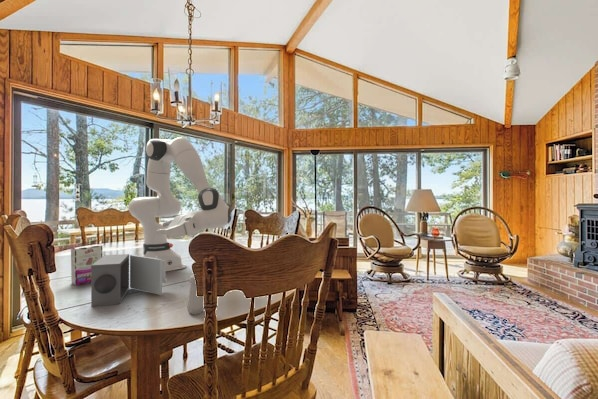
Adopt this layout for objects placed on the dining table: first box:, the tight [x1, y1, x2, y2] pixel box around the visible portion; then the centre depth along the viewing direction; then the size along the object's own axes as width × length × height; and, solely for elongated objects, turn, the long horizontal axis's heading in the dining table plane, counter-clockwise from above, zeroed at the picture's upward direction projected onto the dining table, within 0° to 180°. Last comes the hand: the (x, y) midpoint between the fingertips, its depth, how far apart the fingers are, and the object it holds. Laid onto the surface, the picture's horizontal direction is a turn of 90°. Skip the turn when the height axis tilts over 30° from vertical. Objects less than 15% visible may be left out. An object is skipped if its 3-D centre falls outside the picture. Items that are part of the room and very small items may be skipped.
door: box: [129, 254, 166, 295], centre depth 125 cm, size 18×5×14 cm, turn 65°
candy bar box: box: [70, 243, 104, 286], centre depth 136 cm, size 11×5×16 cm, turn 148°
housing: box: [90, 253, 130, 308], centre depth 116 cm, size 20×9×15 cm, turn 20°
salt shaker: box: [186, 274, 204, 316], centre depth 103 cm, size 6×6×13 cm
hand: (160, 228), depth 126 cm, fingers open, 8 cm apart
